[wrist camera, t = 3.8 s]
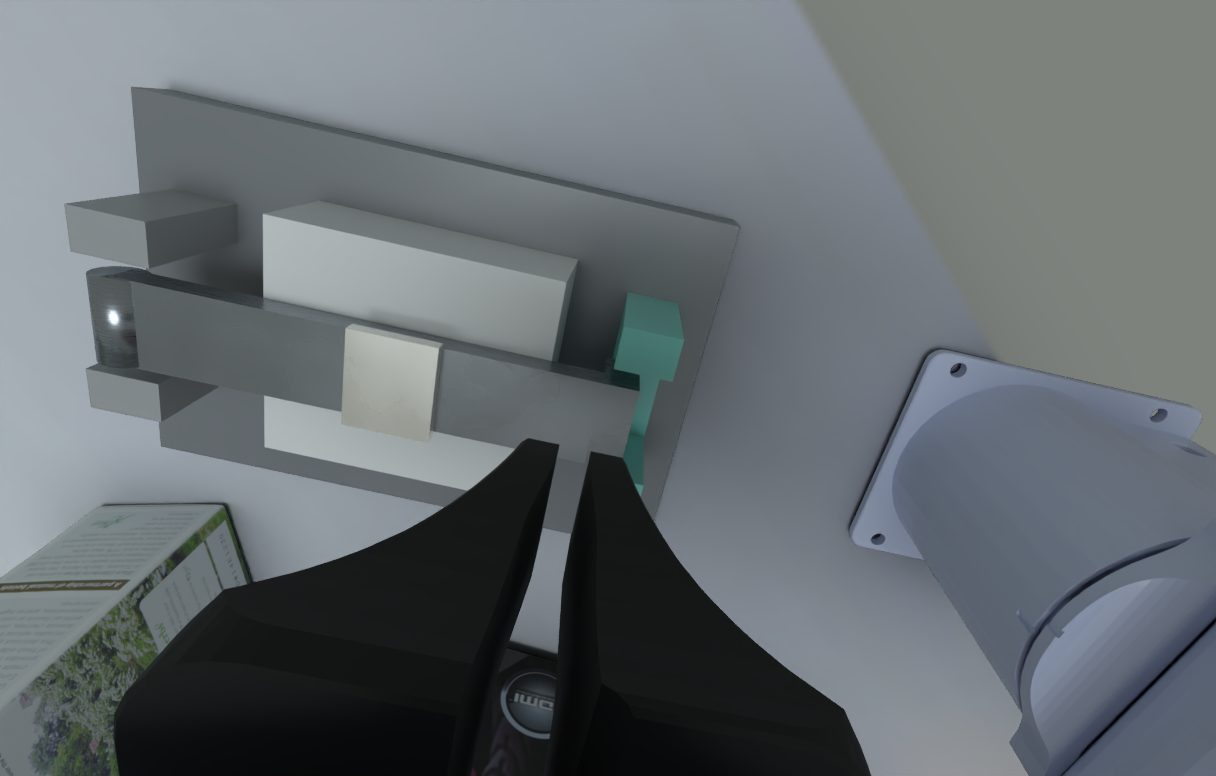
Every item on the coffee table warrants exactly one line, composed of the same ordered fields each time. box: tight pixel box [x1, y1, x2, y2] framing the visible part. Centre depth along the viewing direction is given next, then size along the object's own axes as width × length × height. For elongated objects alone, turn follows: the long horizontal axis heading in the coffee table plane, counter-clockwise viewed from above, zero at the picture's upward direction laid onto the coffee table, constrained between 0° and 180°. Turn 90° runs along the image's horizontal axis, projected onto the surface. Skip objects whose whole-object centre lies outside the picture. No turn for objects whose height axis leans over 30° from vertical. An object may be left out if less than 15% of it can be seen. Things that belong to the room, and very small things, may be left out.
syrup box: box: [0, 504, 251, 776], centre depth 20 cm, size 6×6×14 cm
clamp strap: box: [86, 266, 640, 464], centre depth 18 cm, size 15×3×2 cm, turn 78°
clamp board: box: [64, 87, 740, 534], centre depth 19 cm, size 18×12×5 cm, turn 78°
